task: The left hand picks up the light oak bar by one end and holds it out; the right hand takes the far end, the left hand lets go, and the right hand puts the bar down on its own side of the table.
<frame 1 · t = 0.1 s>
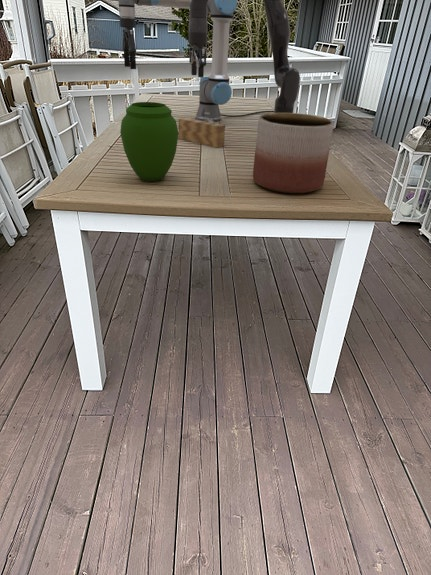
left hand: (130, 67, 208), 28 cm above the table, tool pointing down, fingers open, 13 cm apart
right hand: (197, 76, 174), 29 cm above the table, tool pointing down, fingers open, 8 cm apart
bar: (200, 142, 197), on the table
planter: (287, 184, 148), on the table
seashell: (208, 135, 211), on the table
vase: (151, 178, 146), on the table
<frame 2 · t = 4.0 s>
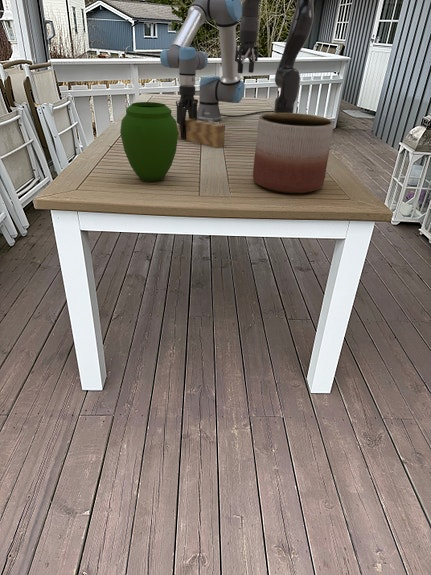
left hand: (186, 137, 201), 1 cm above the table, tool pointing down, fingers closed on bar, 5 cm apart
right hand: (245, 72, 181), 31 cm above the table, tool pointing down, fingers open, 8 cm apart
bar: (200, 142, 197), on the table, touching left hand
everything else where it was.
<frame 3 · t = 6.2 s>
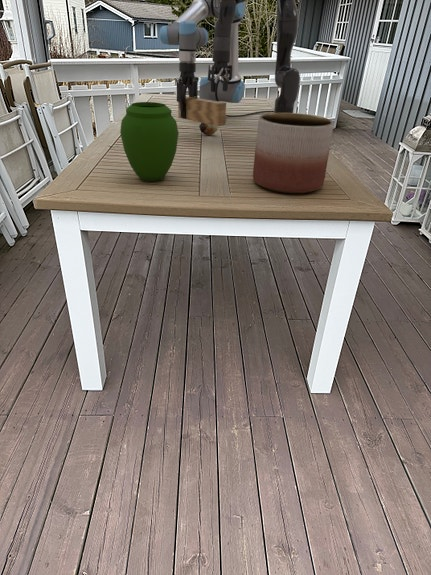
left hand: (187, 117, 196), 10 cm above the table, tool pointing down, fingers closed on bar, 5 cm apart
right hand: (219, 91, 181), 23 cm above the table, tool pointing down, fingers open, 8 cm apart
bar: (201, 121, 192), point 10 cm above the table, touching left hand
everything else where it was.
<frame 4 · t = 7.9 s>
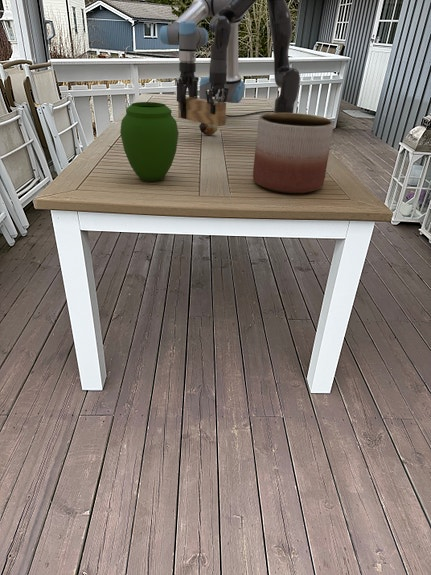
left hand: (187, 117, 196), 10 cm above the table, tool pointing down, fingers closed on bar, 5 cm apart
right hand: (216, 113, 185), 14 cm above the table, tool pointing down, fingers closed on bar, 4 cm apart
bar: (201, 121, 192), point 9 cm above the table, touching left hand, right hand
everything else where it was.
when the left hand's fingers open (10 cm above the table, at t = 8.6 s): bar stays where it is, held by the right hand.
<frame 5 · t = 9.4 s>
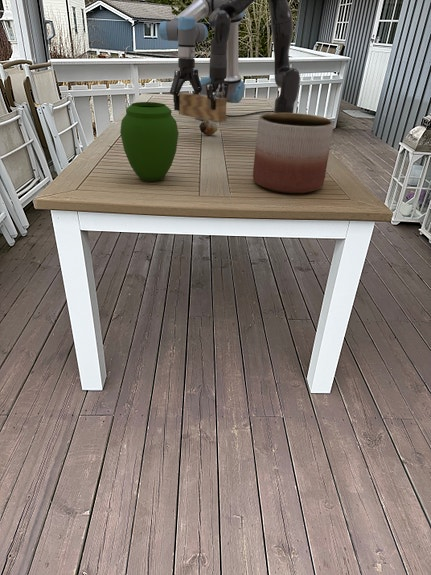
left hand: (186, 108, 195), 14 cm above the table, tool pointing down, fingers open, 13 cm apart
right hand: (216, 108, 185), 16 cm above the table, tool pointing down, fingers closed on bar, 4 cm apart
bar: (201, 117, 191), point 11 cm above the table, touching right hand
everything else where it was.
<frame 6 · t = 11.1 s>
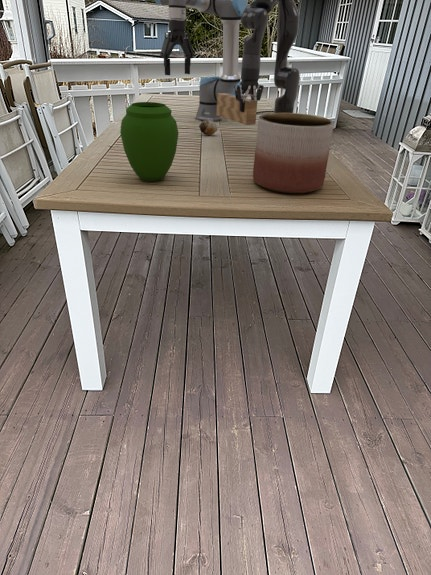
left hand: (177, 74, 190), 28 cm above the table, tool pointing down, fingers open, 13 cm apart
right hand: (247, 111, 176), 17 cm above the table, tool pointing down, fingers closed on bar, 4 cm apart
bar: (235, 119, 185), point 12 cm above the table, touching right hand
everything else where it was.
when the right hand's fingers open (6 cm above the table, at t = 14.7 s): bar stays where it is, on the table.
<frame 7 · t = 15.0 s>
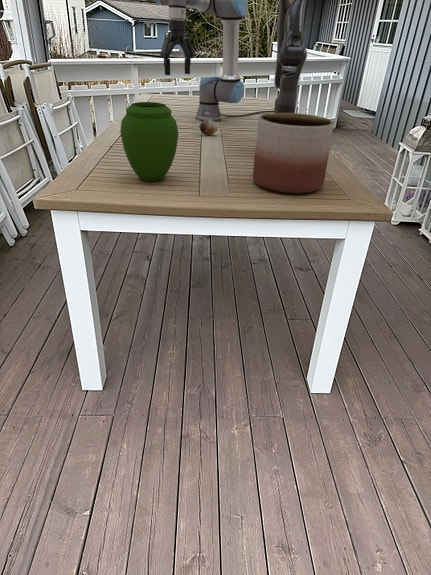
left hand: (177, 74, 190), 28 cm above the table, tool pointing down, fingers open, 13 cm apart
right hand: (281, 145, 172), 6 cm above the table, tool pointing down, fingers open, 7 cm apart
bar: (272, 155, 183), on the table
everything else where it was.
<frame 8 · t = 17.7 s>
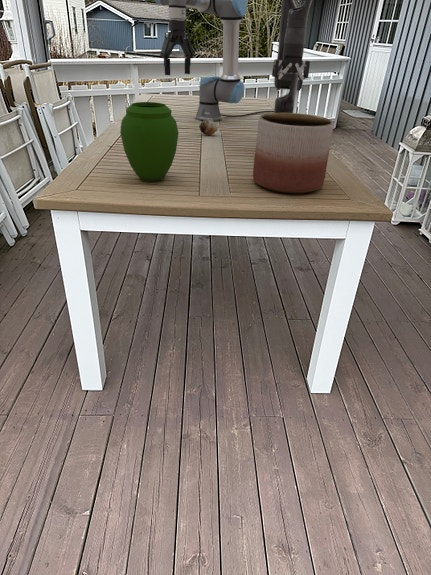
left hand: (177, 74, 190), 28 cm above the table, tool pointing down, fingers open, 13 cm apart
right hand: (288, 90, 161), 27 cm above the table, tool pointing down, fingers open, 8 cm apart
nothing on the table moved.
at the end: bar inside the target area (8.6 cm from its centre), on the table; the left hand is holding nothing; the right hand is holding nothing; bar at rest at the end (0.0 cm/s) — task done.
